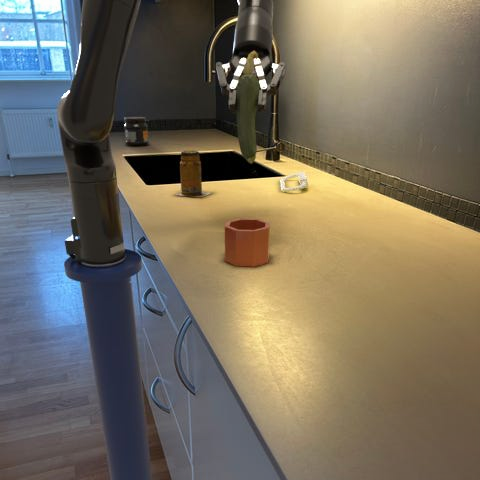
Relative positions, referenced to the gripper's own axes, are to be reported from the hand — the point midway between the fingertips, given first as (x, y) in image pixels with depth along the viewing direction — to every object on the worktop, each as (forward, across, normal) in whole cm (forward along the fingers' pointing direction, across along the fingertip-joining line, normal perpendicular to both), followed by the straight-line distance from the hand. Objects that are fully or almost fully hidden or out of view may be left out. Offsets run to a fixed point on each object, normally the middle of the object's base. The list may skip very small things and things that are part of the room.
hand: (247, 109), depth 97 cm
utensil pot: (+25, +1, +13) cm, 28 cm away
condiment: (-12, -20, +51) cm, 56 cm away
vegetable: (+6, 0, +9) cm, 10 cm away
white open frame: (-22, +9, +60) cm, 65 cm away
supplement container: (-78, -65, +118) cm, 156 cm away
